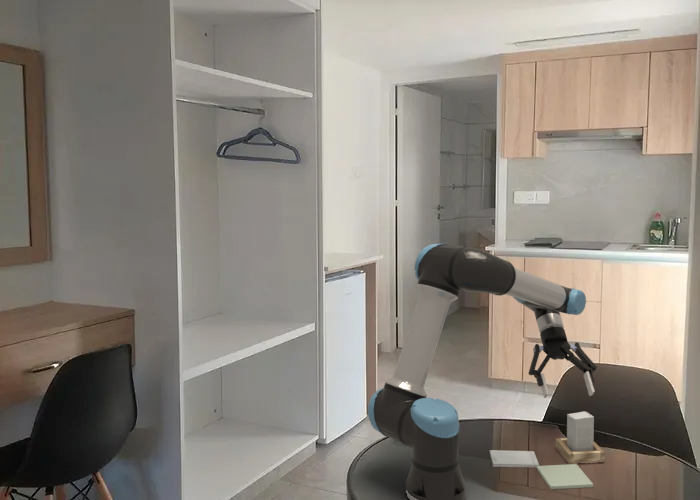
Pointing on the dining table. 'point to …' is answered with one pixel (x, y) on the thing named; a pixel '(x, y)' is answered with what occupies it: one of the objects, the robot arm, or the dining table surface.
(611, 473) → the dining table surface
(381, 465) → the dining table surface
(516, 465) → the hard drive
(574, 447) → the skincare box
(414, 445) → the robot arm
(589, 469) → the dining table surface
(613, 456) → the dining table surface
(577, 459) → the cradle
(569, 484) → the pad
